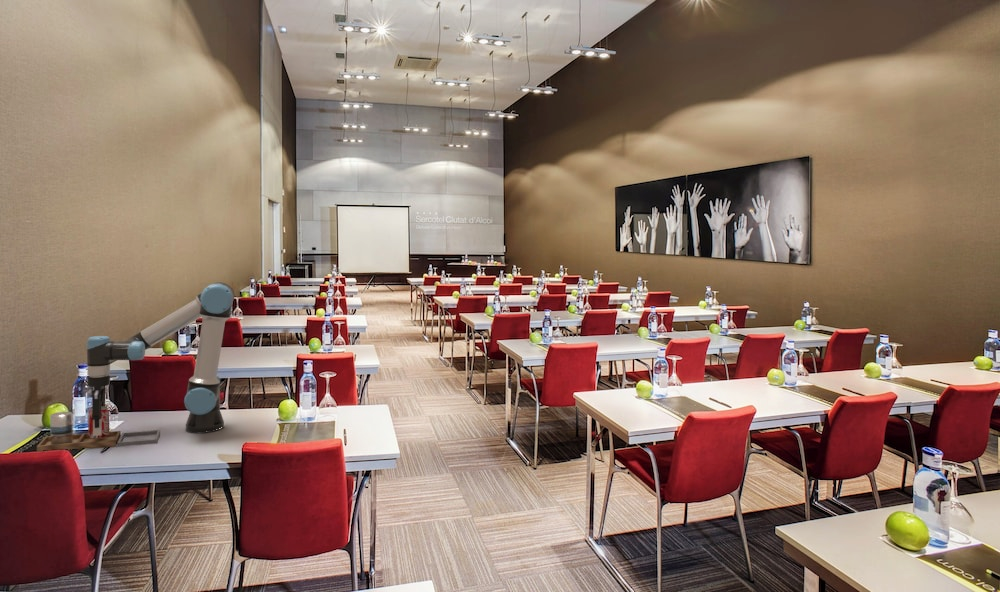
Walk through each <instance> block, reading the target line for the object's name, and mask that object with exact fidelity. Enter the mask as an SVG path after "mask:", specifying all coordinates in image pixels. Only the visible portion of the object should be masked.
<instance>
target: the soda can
mask: <svg viewBox="0 0 1000 592" xmlns="http://www.w3.org/2000/svg"><path fill="white" fill-rule="evenodd" d="M91 418H92V407H90V408H89V411H88V415H87V424H88V425H87V430H88V432H87V433H88V434H89V438H91V439H94V440H97V439H103V438H106V437H107V436H108V435H109V432H110V411H109V409H108V406H106V405H105V406H101V419H102V435H99V436H93V420H91Z"/></svg>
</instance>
